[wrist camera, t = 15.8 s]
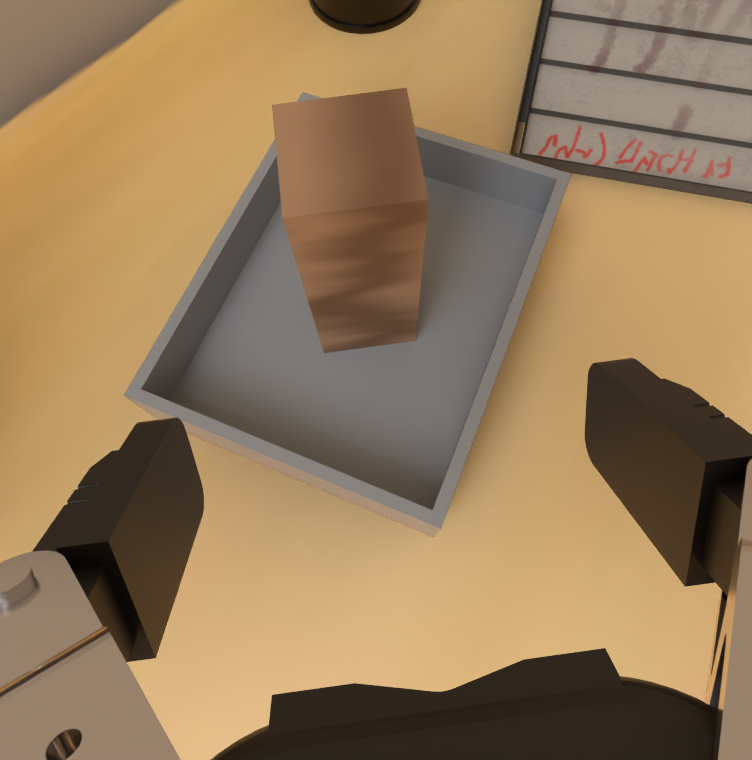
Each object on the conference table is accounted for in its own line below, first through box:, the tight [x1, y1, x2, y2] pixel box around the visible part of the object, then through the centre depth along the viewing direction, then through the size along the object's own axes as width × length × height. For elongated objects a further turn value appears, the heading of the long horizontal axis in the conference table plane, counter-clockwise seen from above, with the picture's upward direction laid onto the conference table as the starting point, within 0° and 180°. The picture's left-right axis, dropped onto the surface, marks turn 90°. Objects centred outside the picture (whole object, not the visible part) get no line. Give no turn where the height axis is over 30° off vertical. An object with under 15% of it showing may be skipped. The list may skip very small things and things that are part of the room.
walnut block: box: [272, 88, 428, 353], centre depth 26 cm, size 5×5×12 cm
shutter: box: [510, 0, 752, 204], centre depth 43 cm, size 32×7×31 cm
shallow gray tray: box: [124, 92, 571, 537], centre depth 32 cm, size 16×20×8 cm
